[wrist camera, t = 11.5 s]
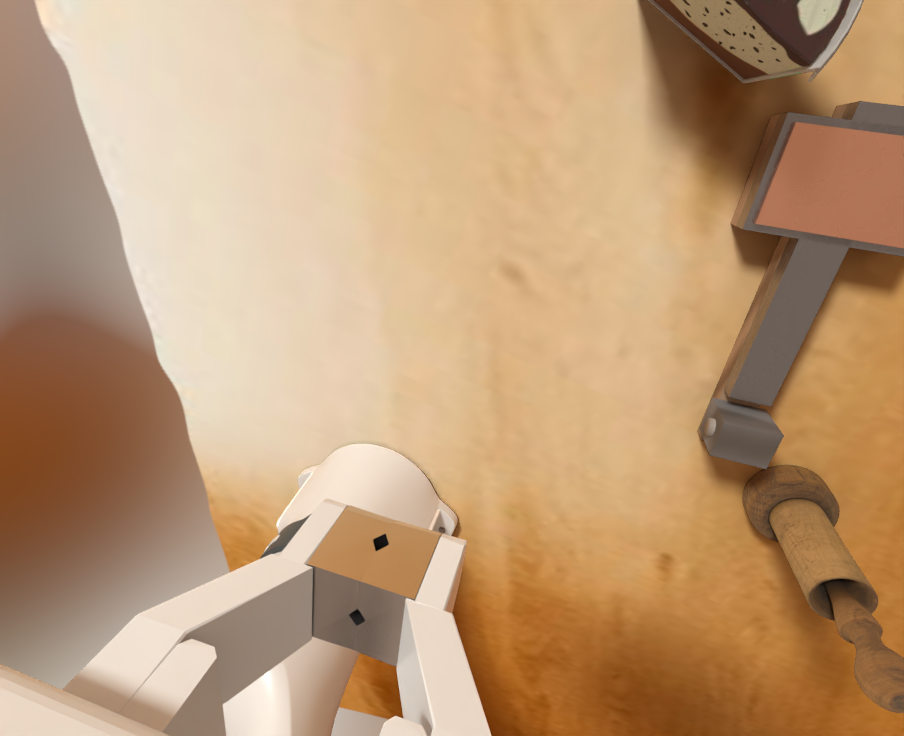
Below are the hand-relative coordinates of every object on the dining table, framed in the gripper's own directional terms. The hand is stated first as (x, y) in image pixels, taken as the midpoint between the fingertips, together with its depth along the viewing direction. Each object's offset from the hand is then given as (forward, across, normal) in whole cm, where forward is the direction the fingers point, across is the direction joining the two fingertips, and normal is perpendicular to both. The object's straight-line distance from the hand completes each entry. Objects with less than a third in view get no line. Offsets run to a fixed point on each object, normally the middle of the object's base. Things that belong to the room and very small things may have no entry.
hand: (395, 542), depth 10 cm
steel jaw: (+32, +18, +2) cm, 36 cm away
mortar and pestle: (+33, +25, -17) cm, 45 cm away
